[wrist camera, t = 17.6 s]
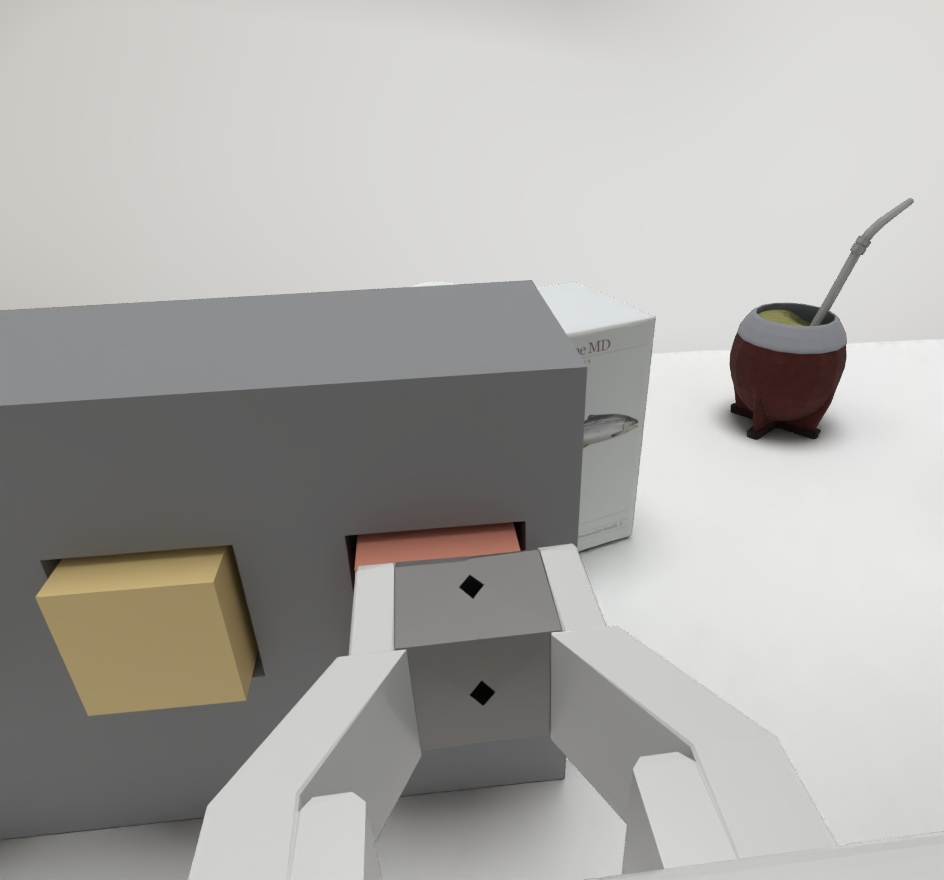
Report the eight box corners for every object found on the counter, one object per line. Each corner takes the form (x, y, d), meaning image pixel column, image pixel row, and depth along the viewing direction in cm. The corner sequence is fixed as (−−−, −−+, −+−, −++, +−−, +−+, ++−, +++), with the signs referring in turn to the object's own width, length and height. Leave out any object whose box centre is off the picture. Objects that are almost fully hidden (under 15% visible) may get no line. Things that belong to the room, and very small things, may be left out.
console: (564, 778, 24) (587, 366, 17) (-138, 854, 23) (-472, 436, 15) (527, 621, 31) (531, 280, 24) (-12, 670, 30) (-195, 321, 22)
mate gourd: (701, 423, 48) (734, 204, 41) (755, 390, 53) (793, 187, 45) (807, 460, 43) (865, 218, 36) (856, 420, 48) (916, 198, 41)
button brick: (520, 673, 20) (521, 555, 18) (371, 688, 20) (354, 570, 18) (506, 604, 23) (505, 494, 20) (374, 615, 22) (360, 505, 20)
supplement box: (515, 579, 34) (515, 341, 28) (458, 504, 40) (448, 296, 34) (637, 539, 37) (661, 314, 30) (566, 475, 43) (574, 276, 36)
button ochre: (246, 700, 19) (213, 582, 17) (88, 716, 19) (35, 597, 17) (264, 626, 22) (237, 515, 20) (125, 638, 22) (83, 527, 20)
